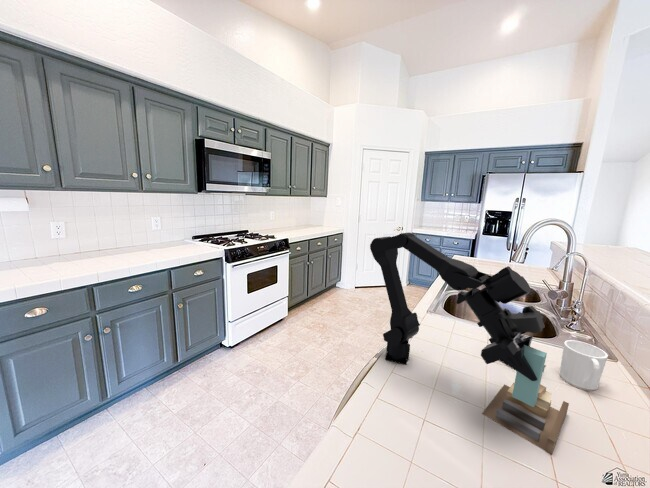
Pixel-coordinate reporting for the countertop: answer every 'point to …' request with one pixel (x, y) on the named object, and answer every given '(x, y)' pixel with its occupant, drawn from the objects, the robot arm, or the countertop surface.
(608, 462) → the countertop surface
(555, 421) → the rack
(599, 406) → the countertop surface
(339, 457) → the countertop surface
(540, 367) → the block
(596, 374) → the mug
